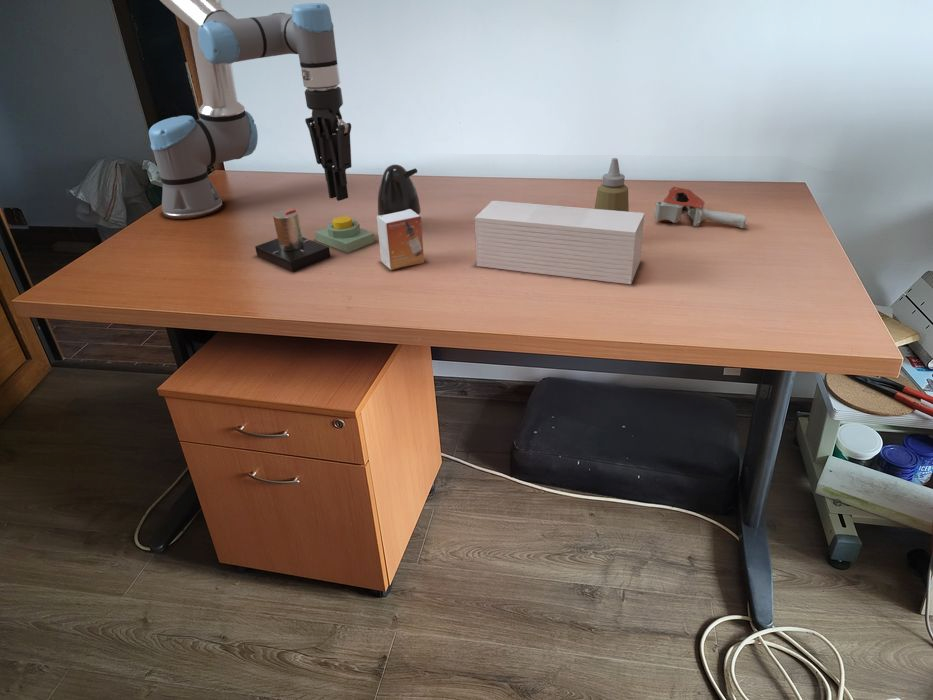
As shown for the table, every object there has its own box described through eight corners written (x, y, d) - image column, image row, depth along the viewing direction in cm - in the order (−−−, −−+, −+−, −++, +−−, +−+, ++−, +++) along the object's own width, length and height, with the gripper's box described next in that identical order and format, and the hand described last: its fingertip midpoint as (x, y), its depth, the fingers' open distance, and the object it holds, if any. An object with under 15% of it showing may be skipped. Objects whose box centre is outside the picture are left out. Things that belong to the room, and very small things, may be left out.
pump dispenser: (416, 235, 157) (410, 171, 149) (374, 234, 159) (366, 171, 151) (427, 220, 165) (422, 158, 158) (387, 219, 167) (380, 158, 160)
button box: (316, 240, 157) (313, 224, 155) (343, 230, 162) (340, 214, 160) (347, 252, 150) (345, 236, 148) (375, 241, 155) (373, 225, 153)
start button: (329, 227, 154) (328, 220, 153) (344, 221, 157) (343, 214, 156) (341, 231, 152) (340, 224, 151) (356, 225, 154) (355, 218, 153)
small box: (390, 271, 140) (385, 223, 135) (380, 262, 145) (375, 215, 139) (425, 262, 143) (421, 215, 138) (414, 254, 148) (410, 208, 142)
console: (257, 256, 151) (254, 245, 149) (294, 243, 157) (292, 232, 155) (292, 272, 142) (290, 261, 141) (330, 257, 148) (328, 246, 147)
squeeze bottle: (631, 235, 151) (638, 155, 142) (623, 248, 145) (629, 165, 136) (596, 231, 154) (601, 152, 145) (586, 243, 148) (590, 162, 139)
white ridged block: (639, 262, 138) (644, 212, 133) (630, 284, 130) (635, 232, 124) (493, 247, 149) (492, 200, 143) (476, 266, 141) (474, 217, 135)
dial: (288, 252, 145) (281, 218, 141) (275, 247, 148) (268, 213, 144) (308, 245, 148) (302, 211, 144) (294, 240, 151) (288, 206, 147)
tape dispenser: (749, 235, 152) (698, 203, 167) (755, 213, 149) (702, 182, 165) (682, 244, 147) (635, 210, 163) (687, 221, 144) (639, 189, 160)
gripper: (286, 87, 141) (305, 196, 153) (329, 93, 132) (346, 209, 144) (315, 81, 145) (331, 187, 157) (359, 87, 136) (373, 199, 148)
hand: (338, 197), depth 151 cm, fingers open, 2 cm apart
